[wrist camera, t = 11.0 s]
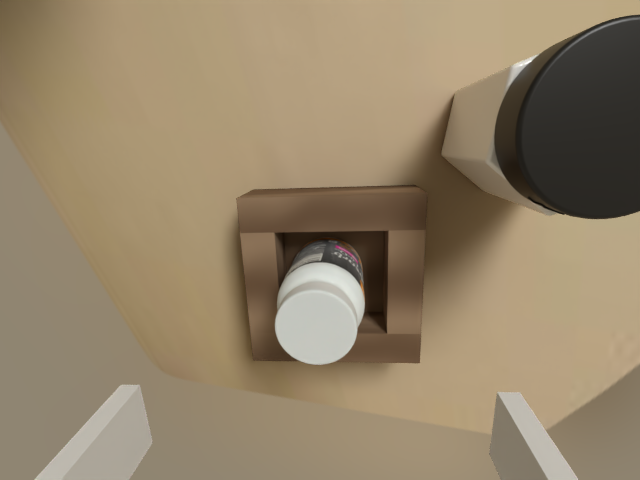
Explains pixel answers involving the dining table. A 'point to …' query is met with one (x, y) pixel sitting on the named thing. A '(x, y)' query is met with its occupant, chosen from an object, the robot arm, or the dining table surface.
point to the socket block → (368, 241)
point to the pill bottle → (321, 302)
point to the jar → (557, 126)
